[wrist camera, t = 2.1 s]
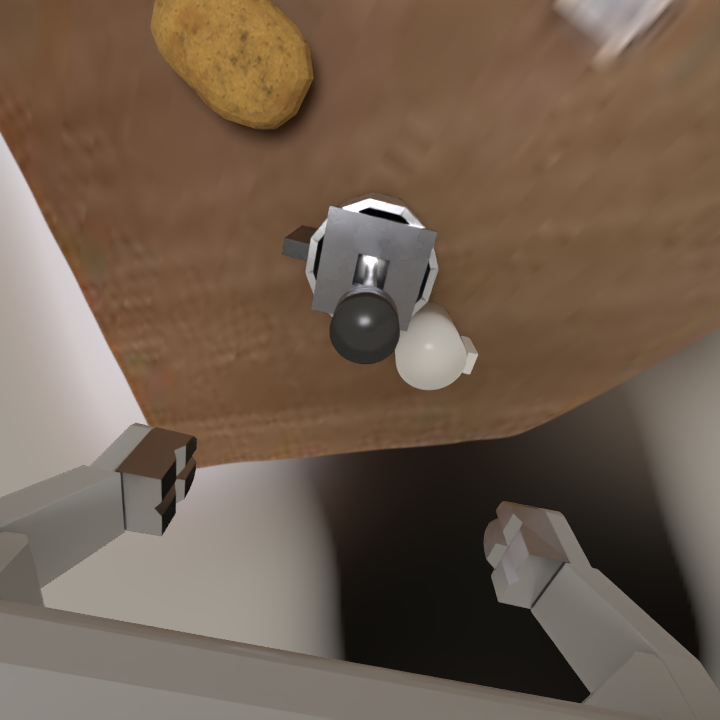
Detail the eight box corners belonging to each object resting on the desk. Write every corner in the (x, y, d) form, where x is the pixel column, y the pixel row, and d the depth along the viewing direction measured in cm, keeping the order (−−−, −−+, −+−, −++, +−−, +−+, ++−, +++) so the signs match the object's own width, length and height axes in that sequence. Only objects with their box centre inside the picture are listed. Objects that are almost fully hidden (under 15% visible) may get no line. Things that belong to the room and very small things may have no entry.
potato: (280, 157, 38) (261, 155, 32) (163, 63, 35) (116, 41, 29) (333, 64, 34) (323, 42, 28) (207, -49, 32) (165, -101, 25)
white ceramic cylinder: (472, 311, 44) (489, 339, 37) (452, 364, 47) (464, 399, 40) (402, 295, 44) (406, 320, 36) (387, 349, 47) (388, 381, 40)
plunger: (427, 232, 31) (461, 278, 18) (402, 317, 35) (415, 409, 21) (336, 209, 31) (303, 240, 18) (320, 298, 34) (281, 379, 21)
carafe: (436, 207, 39) (456, 221, 29) (407, 303, 44) (415, 345, 33) (313, 176, 39) (287, 178, 28) (297, 277, 43) (270, 312, 33)
